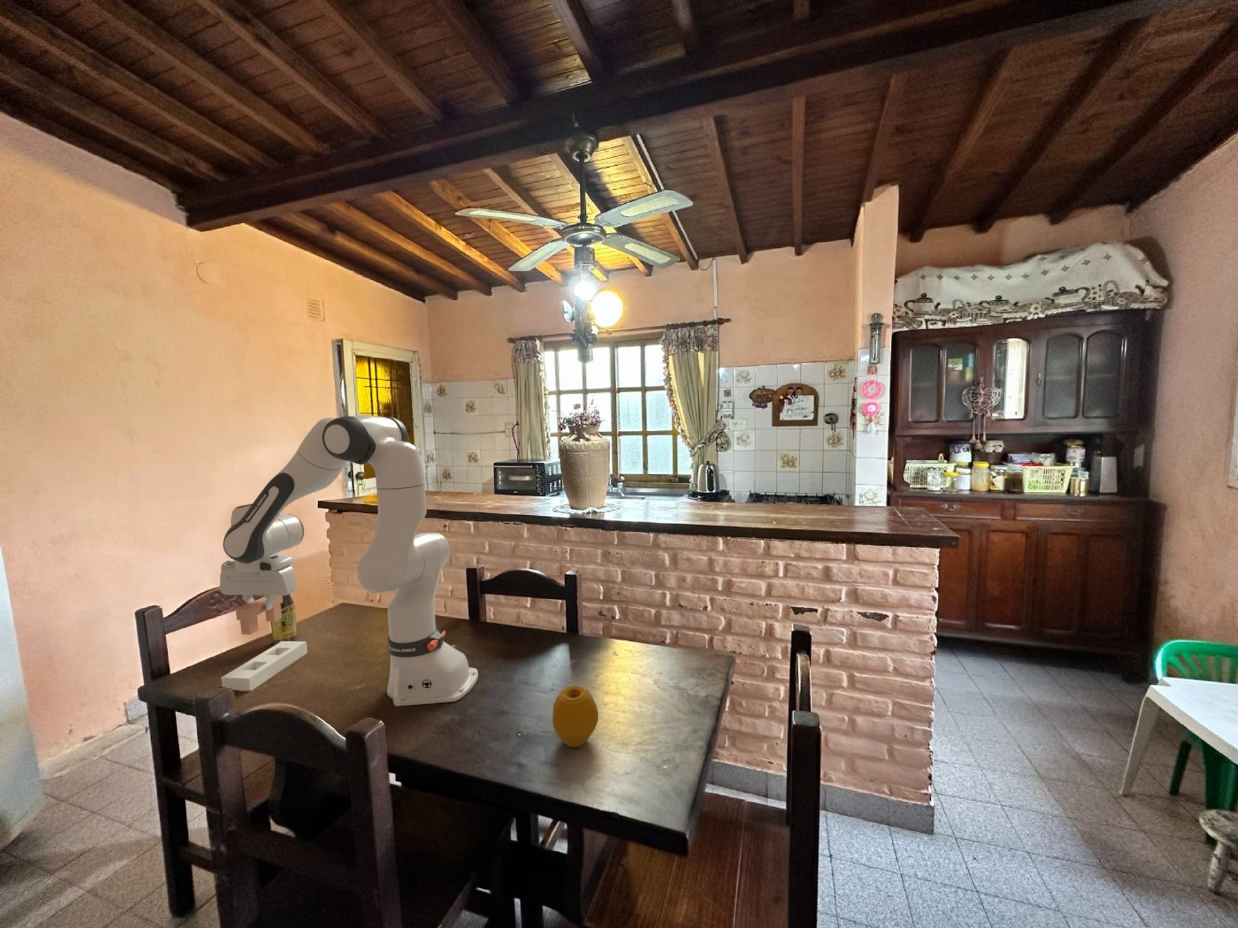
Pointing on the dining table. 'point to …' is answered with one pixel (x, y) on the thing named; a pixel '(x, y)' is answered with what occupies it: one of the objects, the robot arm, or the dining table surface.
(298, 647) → the slot rail
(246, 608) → the prong clip
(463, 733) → the dining table surface
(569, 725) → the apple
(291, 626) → the sauce bottle
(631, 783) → the dining table surface
